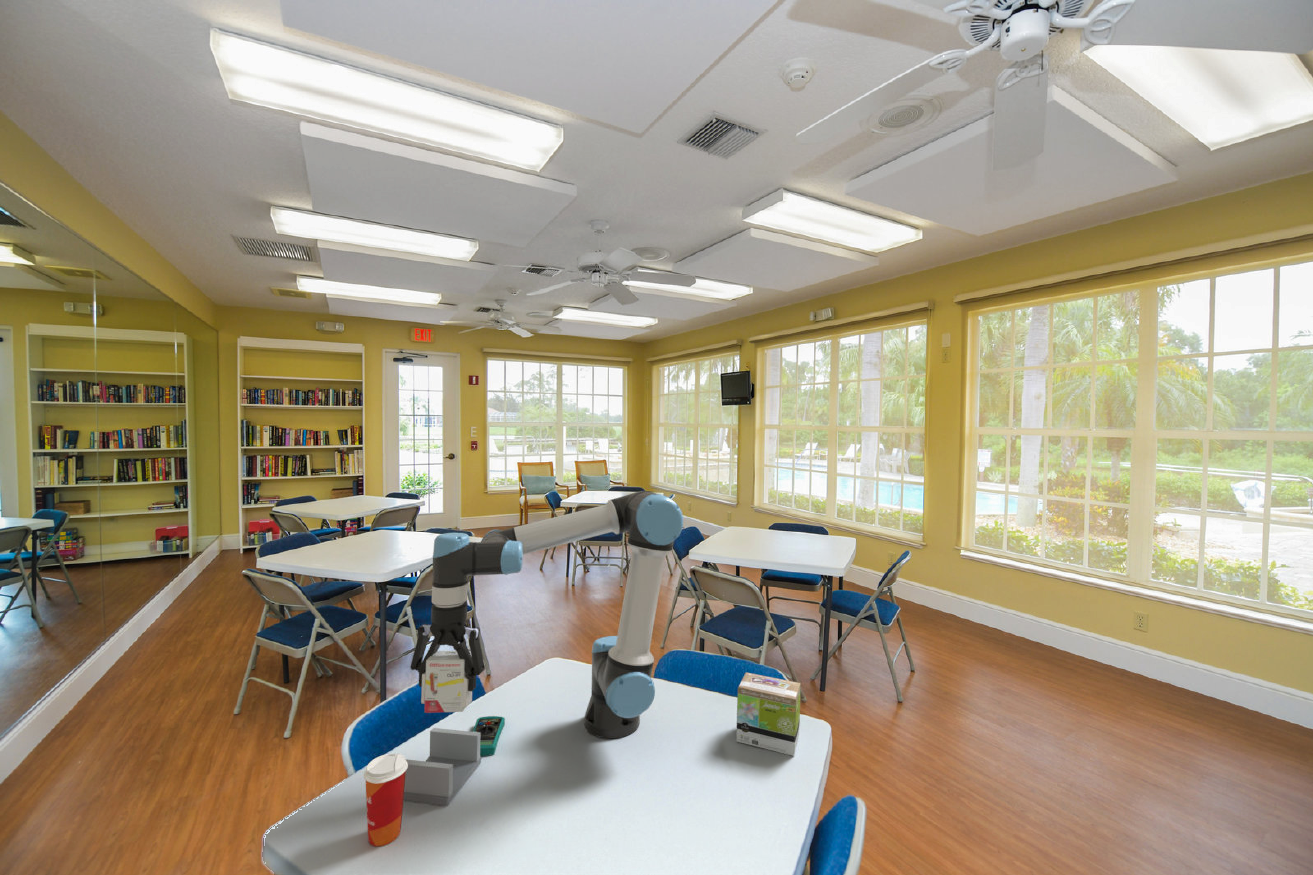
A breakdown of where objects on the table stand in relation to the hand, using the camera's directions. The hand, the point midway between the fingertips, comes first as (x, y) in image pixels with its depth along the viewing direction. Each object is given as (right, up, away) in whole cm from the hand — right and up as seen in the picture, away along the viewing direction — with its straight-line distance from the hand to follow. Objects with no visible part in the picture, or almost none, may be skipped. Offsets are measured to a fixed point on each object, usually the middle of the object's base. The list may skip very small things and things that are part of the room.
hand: (446, 702), depth 118 cm
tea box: (+77, -20, +19) cm, 81 cm away
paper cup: (-6, -18, -16) cm, 25 cm away
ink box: (0, -1, 0) cm, 1 cm away
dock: (-2, -18, 0) cm, 18 cm away
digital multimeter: (+3, -19, +17) cm, 25 cm away
